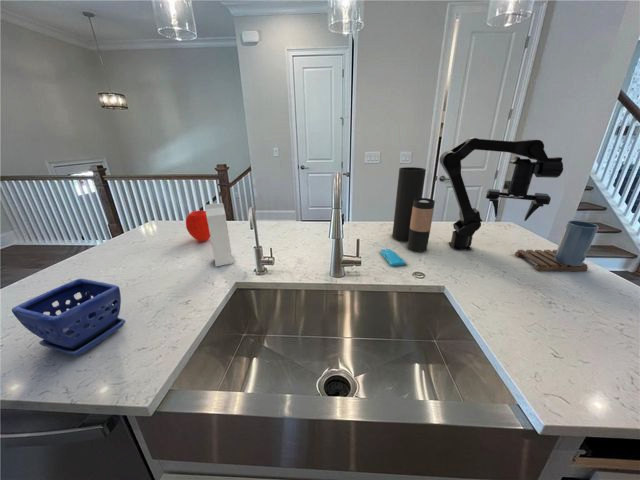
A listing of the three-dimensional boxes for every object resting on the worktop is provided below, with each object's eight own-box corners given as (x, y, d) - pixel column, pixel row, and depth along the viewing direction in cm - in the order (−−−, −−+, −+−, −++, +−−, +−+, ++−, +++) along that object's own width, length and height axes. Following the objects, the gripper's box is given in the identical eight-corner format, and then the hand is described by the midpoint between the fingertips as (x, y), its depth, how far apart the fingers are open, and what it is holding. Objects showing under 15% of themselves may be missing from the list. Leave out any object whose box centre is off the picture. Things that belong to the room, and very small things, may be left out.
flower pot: (96, 315, 68) (79, 276, 64) (134, 324, 65) (120, 284, 60) (33, 353, 57) (7, 308, 52) (75, 367, 53) (51, 320, 49)
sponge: (394, 249, 103) (380, 248, 102) (406, 263, 92) (391, 262, 91) (393, 252, 103) (379, 251, 102) (405, 266, 92) (390, 266, 91)
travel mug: (404, 245, 108) (410, 198, 101) (421, 244, 109) (429, 197, 101) (411, 252, 101) (418, 203, 94) (430, 252, 102) (439, 202, 94)
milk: (233, 263, 95) (224, 205, 86) (215, 266, 93) (204, 207, 84) (231, 256, 100) (222, 200, 91) (214, 259, 98) (204, 202, 89)
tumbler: (579, 268, 84) (596, 229, 79) (551, 260, 90) (565, 223, 84) (584, 262, 88) (600, 224, 83) (557, 254, 94) (571, 219, 88)
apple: (223, 238, 118) (218, 209, 113) (200, 247, 109) (193, 216, 103) (207, 233, 124) (201, 206, 118) (183, 241, 115) (177, 212, 109)
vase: (387, 235, 119) (394, 168, 107) (405, 232, 122) (413, 166, 111) (402, 243, 110) (410, 171, 99) (421, 239, 114) (431, 169, 102)
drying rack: (538, 270, 88) (540, 264, 87) (514, 255, 99) (516, 249, 98) (586, 270, 87) (589, 264, 86) (557, 255, 98) (559, 249, 97)
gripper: (551, 175, 94) (538, 216, 100) (491, 172, 103) (482, 210, 109) (557, 180, 85) (542, 225, 91) (491, 176, 94) (481, 217, 101)
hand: (510, 218), depth 98 cm, fingers open, 9 cm apart
